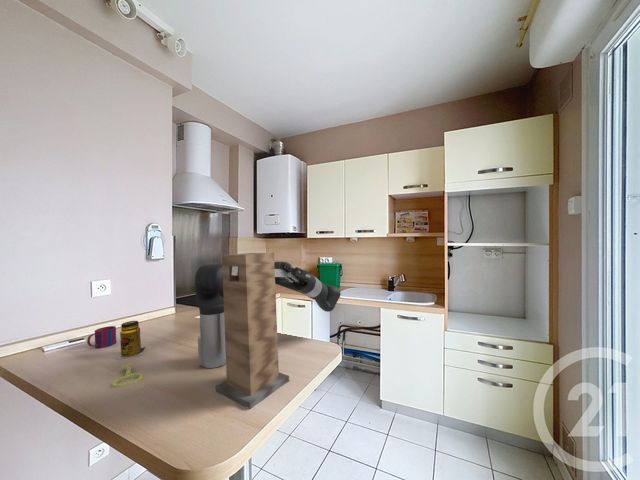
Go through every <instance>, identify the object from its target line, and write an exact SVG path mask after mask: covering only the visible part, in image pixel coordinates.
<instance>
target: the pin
mask: <svg viewBox="0 0 640 480" xmlns="http://www.w3.org/2000/svg"><path fill="white" fill-rule="evenodd" d="M232 275H236V276H239V268H238V267H236V266H232ZM275 277H291V275H289V274H288V273H287V272H285V271H284V270H282V269H275Z"/></svg>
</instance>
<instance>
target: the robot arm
mask: <svg viewBox="0 0 640 480" xmlns="http://www.w3.org/2000/svg"><path fill="white" fill-rule="evenodd" d="M274 265H275V269H282V270H284V271H285V272H287V273H288V274H289V275H291V277H275V285H278V286H280V287H283V288H285V289H289V290H291V291H295V292H298V293H301V294H302V295H304V296H306V297H308V298H309V299H312V300H314V301H315V302H316V303H317V306H318V307H319V308H320V309H321V310H322V311H324V312H327V313H329V312H333V310H334V309H335V307H336V305H337V303H338V301H339V299H340V297H341V295H342V294H341V291H340V289H339V288H338V287H336V286H334V285H328V284H324V283H323V282H322V281H320V280H319V279H318V277H316V276H315V275H313V274H312V273H311V272H309V271H308V270H305V269H302V268H300V267H298V266H295V267H294V266H292V264H291V263H289V262H286V261H274ZM194 288H195V289H194V290H195V301H196V304H197V307H198V310H199V327H200V328H199V331H200V332H199V333H200V334H199V336H198V337H197V349H198V350H197V351H198V354H197V356H198V366H199V367H200V366H201V367H203V368H205V369H214V368H219V367H222V366H226V350H225V323H224V297H223V296H221V295H220V293H221V292H223V271H222V263H221V264H219V263H218V264H215V263H214V264H210V263H209V264H203V265H201V266H200V267H199V268H197V270H196V273H195V276H194Z"/></svg>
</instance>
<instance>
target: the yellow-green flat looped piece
mask: <svg viewBox="0 0 640 480" xmlns="http://www.w3.org/2000/svg"><path fill="white" fill-rule="evenodd" d="M120 370H121V371H122V370H126V372H125V374H124V376H121V377H119V378H116V379H115V380H113V381H112V383H111V387H112V388H121V387H125V386H130V385H132V384H135V383H137V382H139V381H141V380H143V377H144V376H143V374H142V373H139V372H138V373H137V372H136V373H132V364H131V363H128V364H126V365H124V366H121V367H120ZM134 378H136V379H134ZM130 379H134V380H132V381H129V382H125V383H120V382H123V381H126V380H130Z"/></svg>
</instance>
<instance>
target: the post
mask: <svg viewBox="0 0 640 480" xmlns="http://www.w3.org/2000/svg"><path fill="white" fill-rule="evenodd" d="M274 262H275V252H246V253H245V252H244V253H233V254H232V253H231V254H230V253H229V254H222V255H221V264H222V271H223V291H222V292H223V295H222V298H224V323H225V350H226V364H225V372H226V373H225V374H226V380H223V381H222V382H219V383H218V384H216V385H215V392H216V393H218V394H220V395H222V396H225V397H226V398H229V399H231V400H232V401H234V402H235V403H237V404H239V405H242V406H243V407H245V408H247V409H248V410H249V409H250V410H251V409H252V408H254V407H255V406H256V405H258V404H259V403H261V402H262V401H264V400H265V399H266V398H267V397H269V396H270V395H272V394H273V393H275V392H276V391H277V390H279V389H280V388H281V387H283V386H285V385H286V384H287V383H288V382H290V375H288V374H286V373H285V374H284V373H282V372H280V371H279V347H278V346H279V345H278V323H277V322H278V320H277V317H278V316H277V297H276V296H277V295H276V294H277V293H276V284H275V265H274ZM232 266H236V267H238V268H239V276H236V275H232Z"/></svg>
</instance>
